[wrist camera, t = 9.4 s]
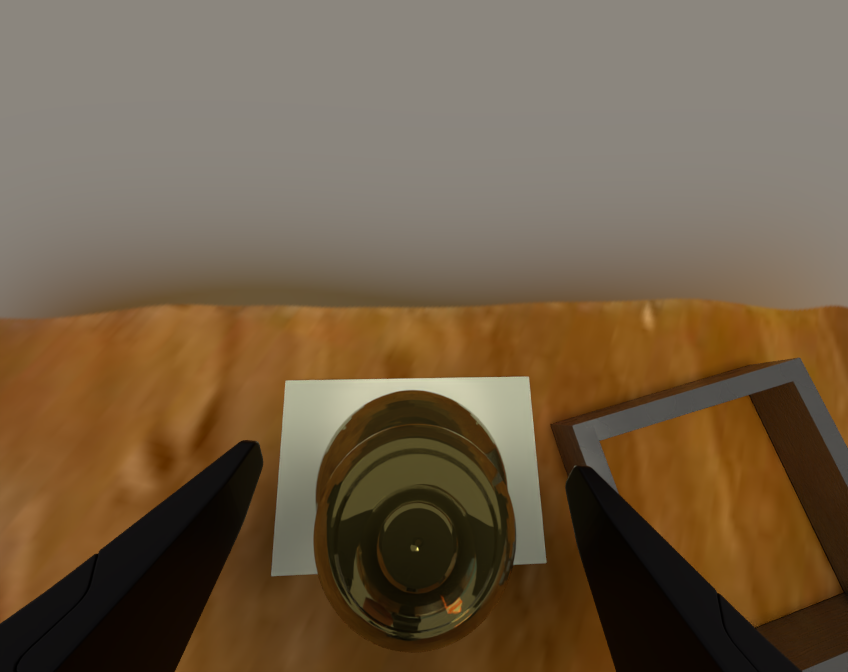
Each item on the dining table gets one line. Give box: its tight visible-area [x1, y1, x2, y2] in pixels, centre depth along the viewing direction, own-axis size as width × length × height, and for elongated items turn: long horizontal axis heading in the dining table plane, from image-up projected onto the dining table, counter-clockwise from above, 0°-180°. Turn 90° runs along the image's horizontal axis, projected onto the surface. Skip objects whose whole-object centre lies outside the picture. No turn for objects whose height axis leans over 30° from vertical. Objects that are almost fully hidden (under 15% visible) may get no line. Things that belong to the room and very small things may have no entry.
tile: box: [271, 377, 546, 576], centre depth 17 cm, size 13×9×1 cm
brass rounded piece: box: [313, 390, 516, 653], centre depth 12 cm, size 7×7×10 cm
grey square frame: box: [550, 358, 848, 672], centre depth 16 cm, size 13×13×2 cm
